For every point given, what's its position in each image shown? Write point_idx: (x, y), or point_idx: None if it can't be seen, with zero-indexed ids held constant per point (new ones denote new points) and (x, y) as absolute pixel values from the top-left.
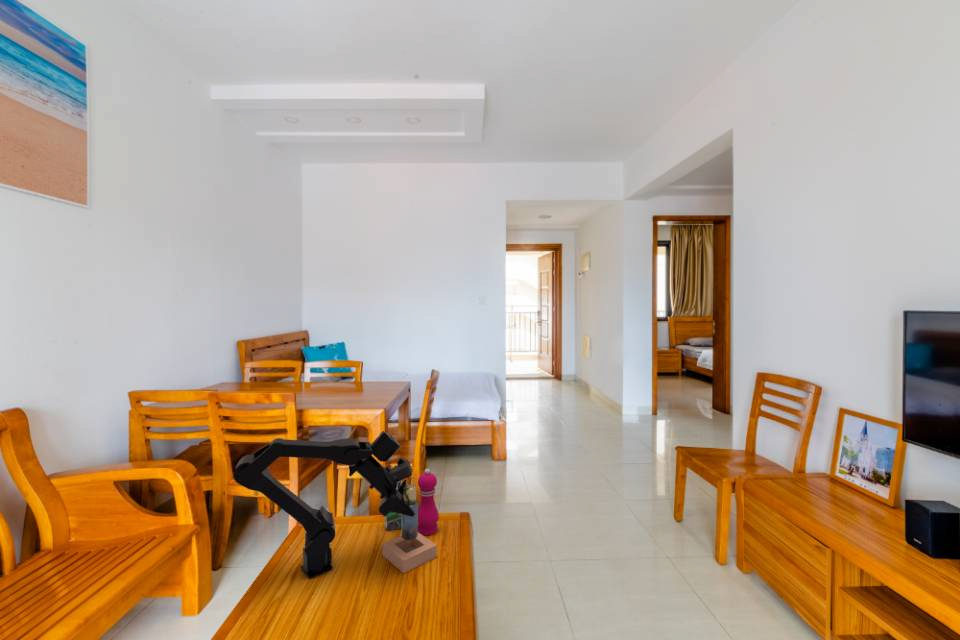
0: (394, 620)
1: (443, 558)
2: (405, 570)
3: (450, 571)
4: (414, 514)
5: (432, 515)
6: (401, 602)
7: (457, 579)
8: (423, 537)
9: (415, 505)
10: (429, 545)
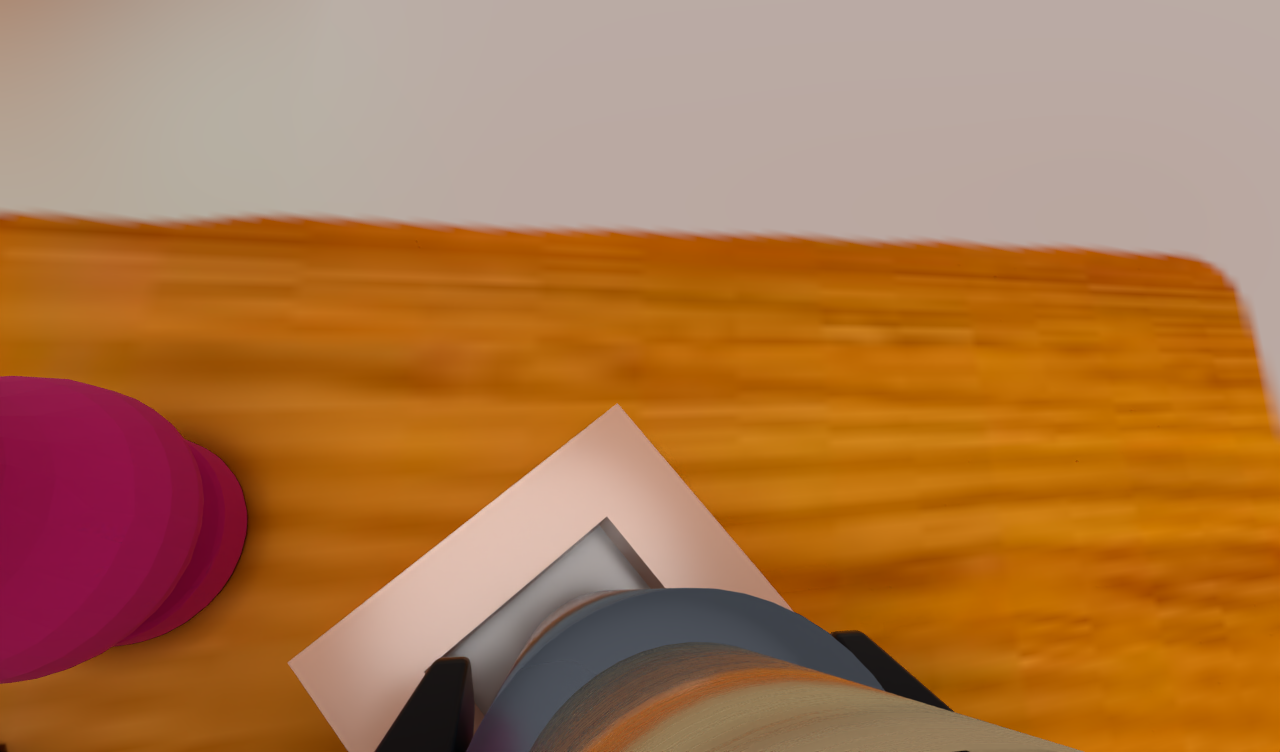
0: (1272, 665)
1: (626, 376)
2: None
3: (779, 328)
4: (860, 640)
5: (124, 439)
6: (1120, 644)
7: (857, 287)
8: (467, 540)
9: (833, 641)
10: (618, 468)
